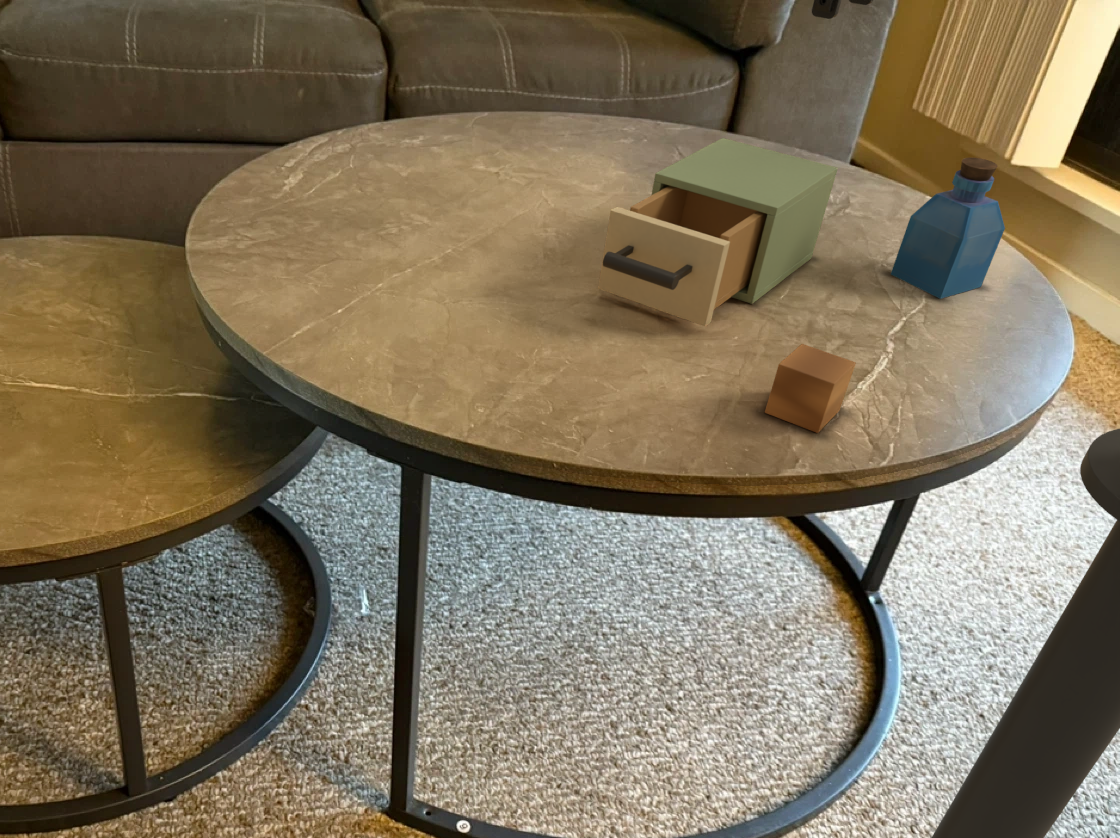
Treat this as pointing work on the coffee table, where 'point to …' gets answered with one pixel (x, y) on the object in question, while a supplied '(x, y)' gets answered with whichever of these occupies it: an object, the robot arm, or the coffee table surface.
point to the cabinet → (761, 201)
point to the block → (809, 387)
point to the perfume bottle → (953, 235)
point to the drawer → (681, 252)
